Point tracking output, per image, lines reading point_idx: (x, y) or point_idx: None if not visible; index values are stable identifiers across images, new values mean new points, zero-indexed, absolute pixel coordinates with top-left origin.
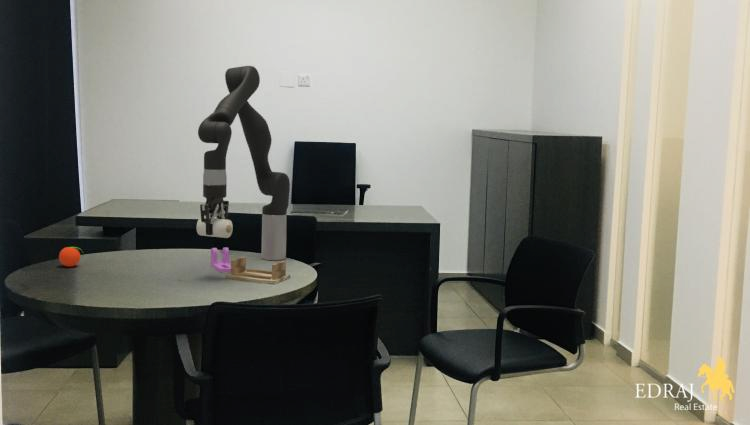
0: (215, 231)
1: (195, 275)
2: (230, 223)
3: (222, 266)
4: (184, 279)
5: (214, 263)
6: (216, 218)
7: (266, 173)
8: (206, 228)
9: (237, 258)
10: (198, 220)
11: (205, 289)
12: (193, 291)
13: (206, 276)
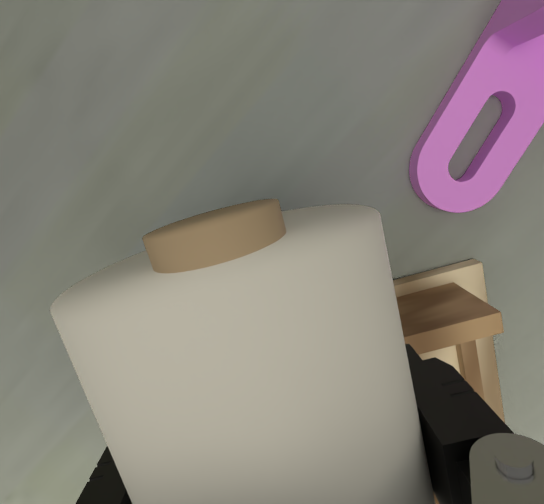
0: None
1: (251, 136)
2: None
3: (501, 94)
4: (141, 174)
5: (495, 38)
6: (471, 483)
7: None
8: (88, 499)
9: (423, 338)
10: (67, 324)
11: (81, 399)
12: (17, 393)
13: (274, 198)
